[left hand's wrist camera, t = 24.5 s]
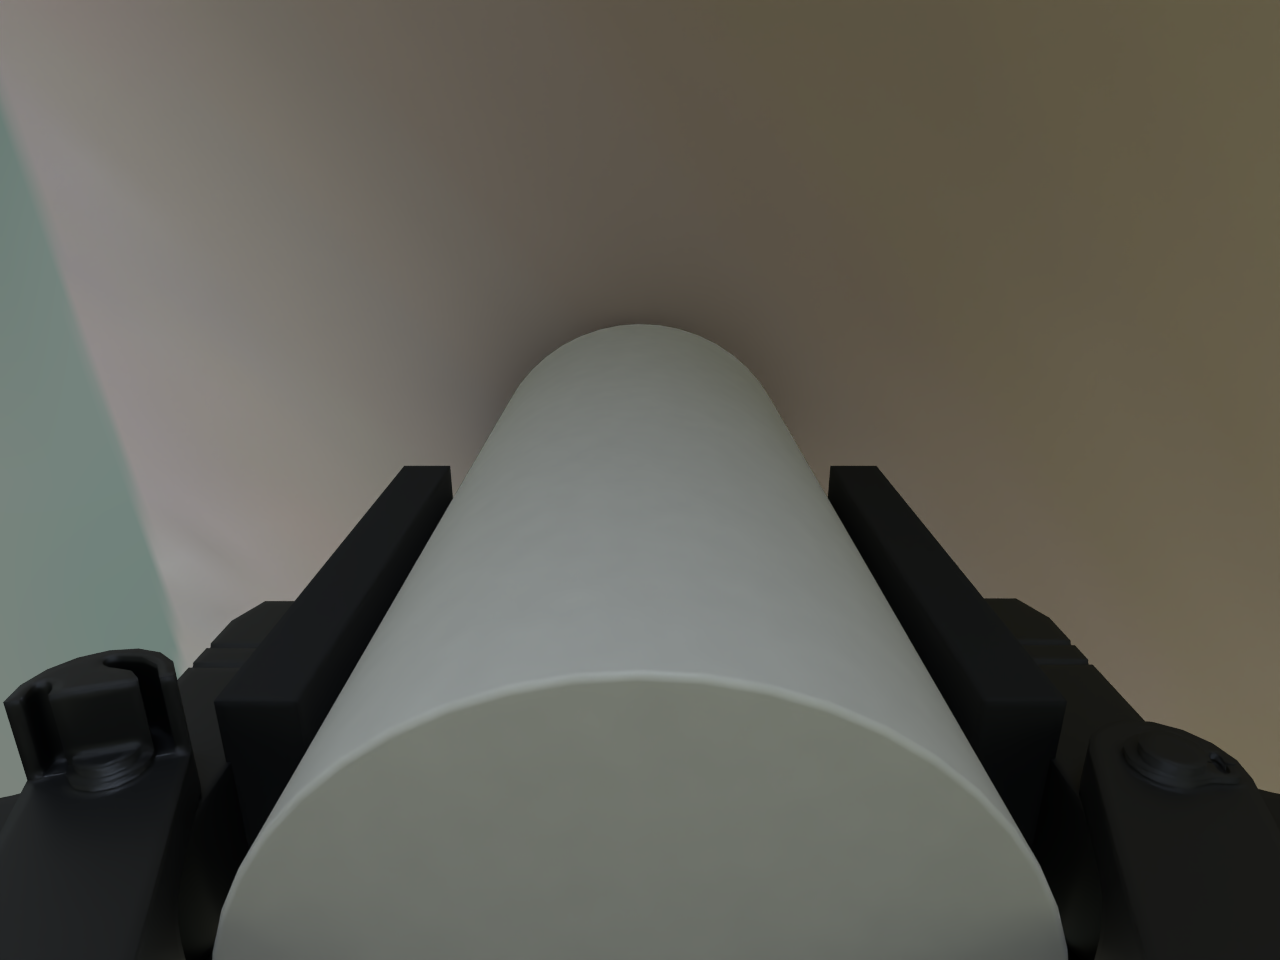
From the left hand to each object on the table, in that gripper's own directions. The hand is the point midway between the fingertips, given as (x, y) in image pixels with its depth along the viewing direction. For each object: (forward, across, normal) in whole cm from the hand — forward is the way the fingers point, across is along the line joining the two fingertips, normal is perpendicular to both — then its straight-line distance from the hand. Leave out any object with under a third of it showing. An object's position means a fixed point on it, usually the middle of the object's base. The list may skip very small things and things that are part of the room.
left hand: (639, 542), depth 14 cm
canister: (+4, 0, 0) cm, 4 cm away
